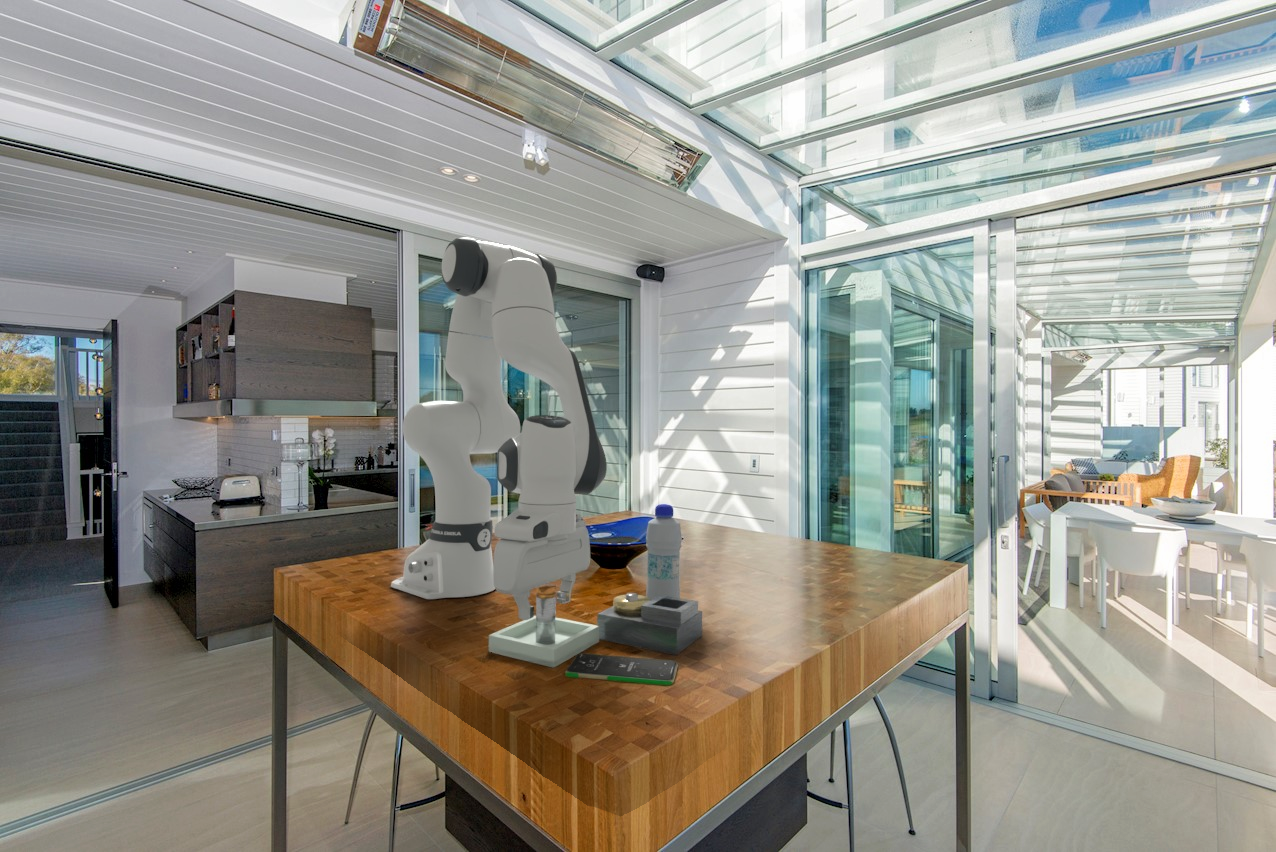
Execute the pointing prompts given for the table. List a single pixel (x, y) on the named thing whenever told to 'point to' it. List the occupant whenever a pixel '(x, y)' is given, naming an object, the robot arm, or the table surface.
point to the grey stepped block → (651, 622)
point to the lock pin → (545, 614)
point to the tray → (524, 647)
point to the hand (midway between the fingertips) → (545, 610)
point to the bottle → (663, 554)
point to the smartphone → (623, 669)
